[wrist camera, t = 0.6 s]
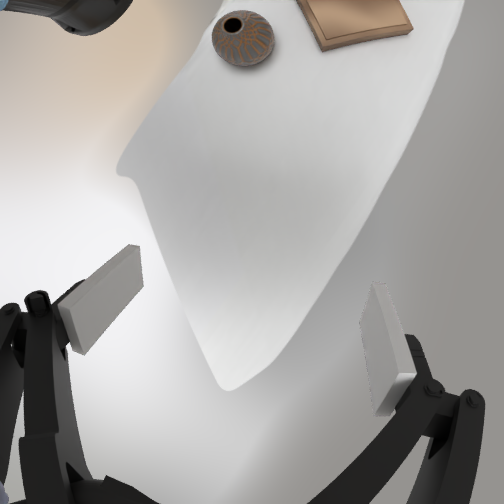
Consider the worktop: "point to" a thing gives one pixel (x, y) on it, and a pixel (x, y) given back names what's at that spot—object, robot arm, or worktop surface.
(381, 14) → the tray
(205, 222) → the worktop surface
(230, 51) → the vase
